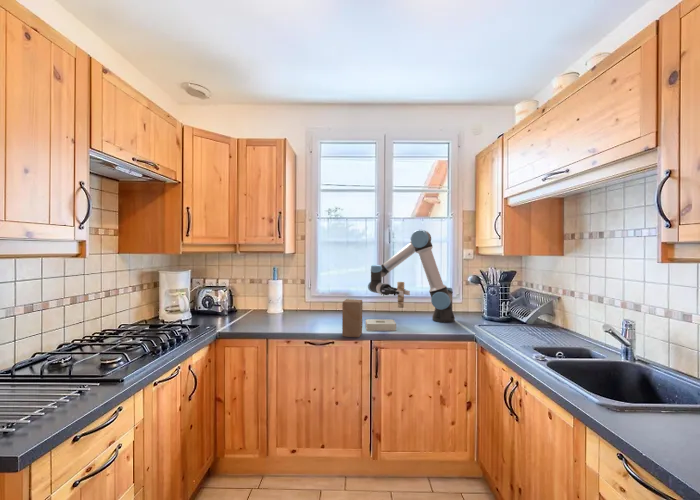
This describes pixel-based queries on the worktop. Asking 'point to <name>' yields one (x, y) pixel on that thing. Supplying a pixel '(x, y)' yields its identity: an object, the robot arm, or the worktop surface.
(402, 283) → the beech leg
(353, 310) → the wooden block
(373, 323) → the socket block
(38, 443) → the worktop surface
